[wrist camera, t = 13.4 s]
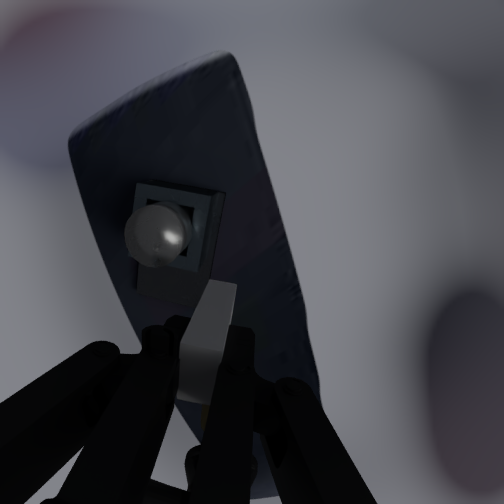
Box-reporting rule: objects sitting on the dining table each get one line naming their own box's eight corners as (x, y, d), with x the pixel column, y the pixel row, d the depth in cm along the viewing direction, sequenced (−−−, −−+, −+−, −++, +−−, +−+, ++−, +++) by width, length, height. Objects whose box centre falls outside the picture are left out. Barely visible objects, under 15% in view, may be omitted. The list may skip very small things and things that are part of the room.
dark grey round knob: (201, 245, 39) (179, 272, 29) (157, 238, 39) (123, 261, 29) (206, 199, 37) (185, 210, 27) (161, 193, 37) (126, 202, 27)
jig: (205, 306, 42) (195, 331, 35) (139, 290, 42) (119, 311, 35) (226, 192, 38) (218, 197, 31) (152, 179, 38) (130, 181, 31)
